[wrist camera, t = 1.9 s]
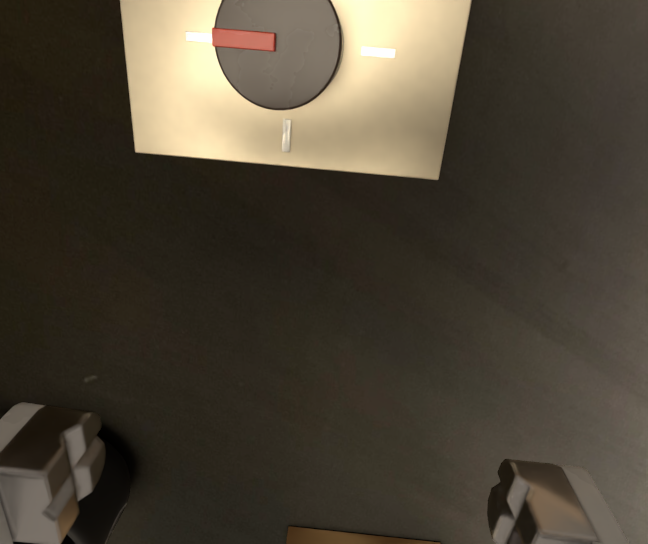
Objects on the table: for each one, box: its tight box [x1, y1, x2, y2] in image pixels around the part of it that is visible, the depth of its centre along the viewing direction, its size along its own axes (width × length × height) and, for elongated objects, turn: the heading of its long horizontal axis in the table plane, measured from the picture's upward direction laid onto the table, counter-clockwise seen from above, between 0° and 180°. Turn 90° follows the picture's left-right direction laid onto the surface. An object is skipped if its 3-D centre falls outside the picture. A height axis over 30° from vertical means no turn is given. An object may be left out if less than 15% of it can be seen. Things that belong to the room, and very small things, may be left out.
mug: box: [13, 436, 130, 544], centre depth 31 cm, size 12×9×7 cm
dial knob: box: [212, 0, 344, 111], centre depth 17 cm, size 4×4×4 cm
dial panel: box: [120, 0, 472, 180], centre depth 20 cm, size 14×10×3 cm
